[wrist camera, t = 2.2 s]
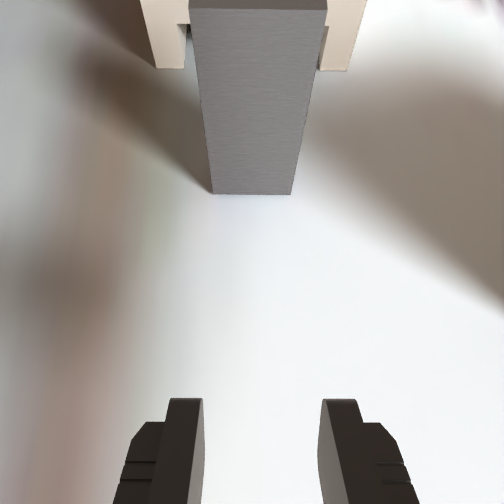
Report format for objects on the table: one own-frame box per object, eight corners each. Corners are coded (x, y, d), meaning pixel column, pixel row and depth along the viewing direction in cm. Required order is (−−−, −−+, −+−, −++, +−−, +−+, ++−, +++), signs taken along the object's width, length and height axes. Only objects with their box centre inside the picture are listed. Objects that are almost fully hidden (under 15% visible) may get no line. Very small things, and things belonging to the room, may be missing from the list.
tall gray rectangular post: (313, 195, 29) (369, 10, 16) (189, 193, 29) (146, 7, 16) (304, 21, 35) (340, -224, 22) (199, 19, 35) (173, -228, 22)
